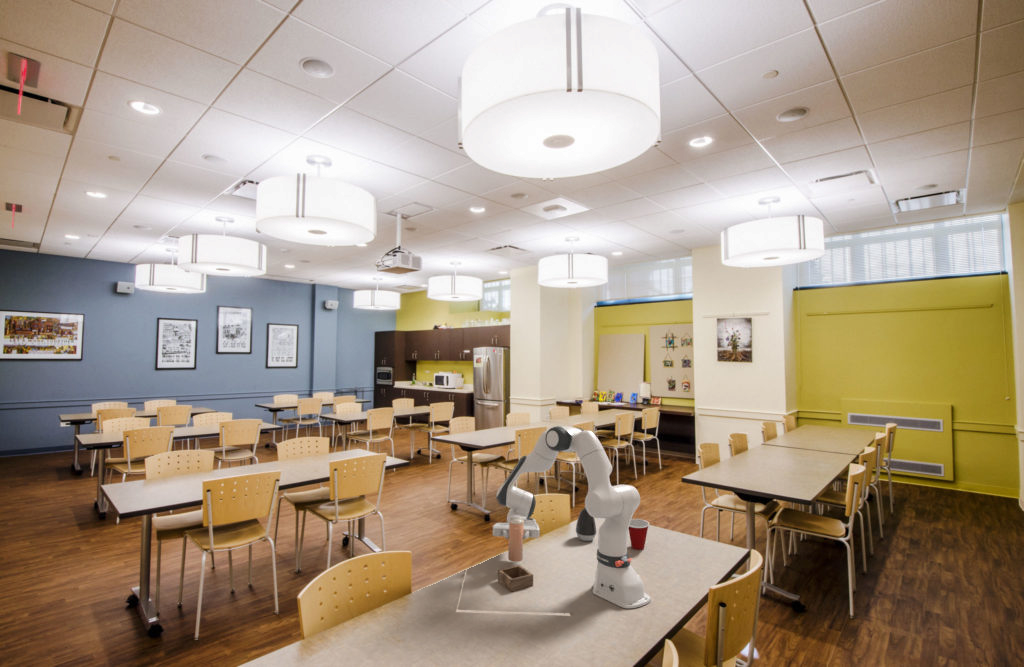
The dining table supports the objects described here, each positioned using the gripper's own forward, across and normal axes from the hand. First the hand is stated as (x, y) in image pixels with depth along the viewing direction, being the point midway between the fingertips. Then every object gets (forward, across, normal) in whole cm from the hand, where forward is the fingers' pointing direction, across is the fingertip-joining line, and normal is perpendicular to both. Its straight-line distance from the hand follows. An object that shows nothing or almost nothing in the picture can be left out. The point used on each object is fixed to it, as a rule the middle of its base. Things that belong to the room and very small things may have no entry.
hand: (516, 537), depth 198 cm
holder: (+12, 0, +14) cm, 19 cm away
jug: (0, 0, +9) cm, 9 cm away
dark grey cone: (-39, +35, +14) cm, 55 cm away
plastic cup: (-30, +58, +14) cm, 67 cm away
